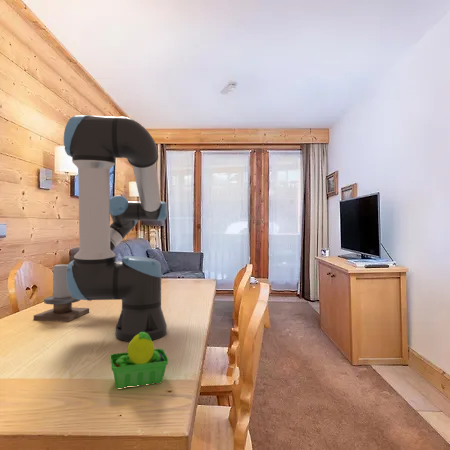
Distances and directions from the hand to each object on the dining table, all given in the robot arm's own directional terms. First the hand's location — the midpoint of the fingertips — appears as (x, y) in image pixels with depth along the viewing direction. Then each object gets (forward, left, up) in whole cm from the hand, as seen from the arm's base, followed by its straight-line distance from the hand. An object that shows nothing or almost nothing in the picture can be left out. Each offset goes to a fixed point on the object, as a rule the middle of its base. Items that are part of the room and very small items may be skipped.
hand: (69, 283), depth 122 cm
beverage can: (-2, +1, -5) cm, 6 cm away
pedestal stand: (-2, +1, -11) cm, 12 cm away
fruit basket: (-46, -47, -12) cm, 67 cm away
